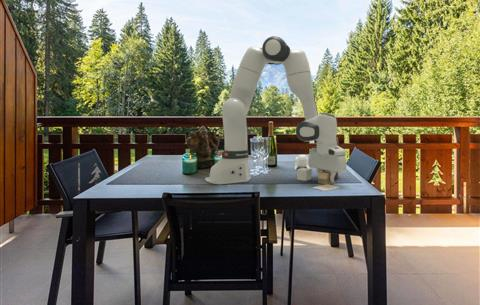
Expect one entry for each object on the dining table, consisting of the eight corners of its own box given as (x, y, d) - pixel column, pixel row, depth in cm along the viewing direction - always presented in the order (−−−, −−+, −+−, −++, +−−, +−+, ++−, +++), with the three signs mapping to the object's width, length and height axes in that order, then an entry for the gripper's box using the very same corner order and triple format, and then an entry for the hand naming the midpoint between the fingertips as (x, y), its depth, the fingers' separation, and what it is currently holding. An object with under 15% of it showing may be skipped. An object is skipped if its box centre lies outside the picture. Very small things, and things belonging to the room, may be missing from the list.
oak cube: (326, 184, 168) (326, 173, 167) (317, 182, 172) (318, 172, 171) (333, 183, 171) (334, 172, 170) (325, 181, 175) (325, 170, 174)
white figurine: (293, 172, 213) (294, 167, 199) (293, 158, 215) (294, 151, 201) (308, 172, 212) (310, 167, 198) (308, 158, 214) (310, 151, 200)
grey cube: (306, 181, 177) (306, 170, 176) (296, 179, 180) (297, 169, 179) (311, 179, 180) (311, 169, 180) (302, 178, 184) (302, 167, 183)
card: (324, 191, 156) (324, 190, 156) (312, 188, 162) (312, 187, 162) (340, 187, 162) (340, 186, 162) (328, 184, 167) (328, 184, 167)
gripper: (305, 147, 176) (304, 176, 178) (339, 152, 159) (338, 184, 161) (314, 146, 180) (314, 175, 181) (349, 151, 163) (348, 182, 165)
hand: (325, 179), depth 171 cm, fingers closed on oak cube, 5 cm apart
